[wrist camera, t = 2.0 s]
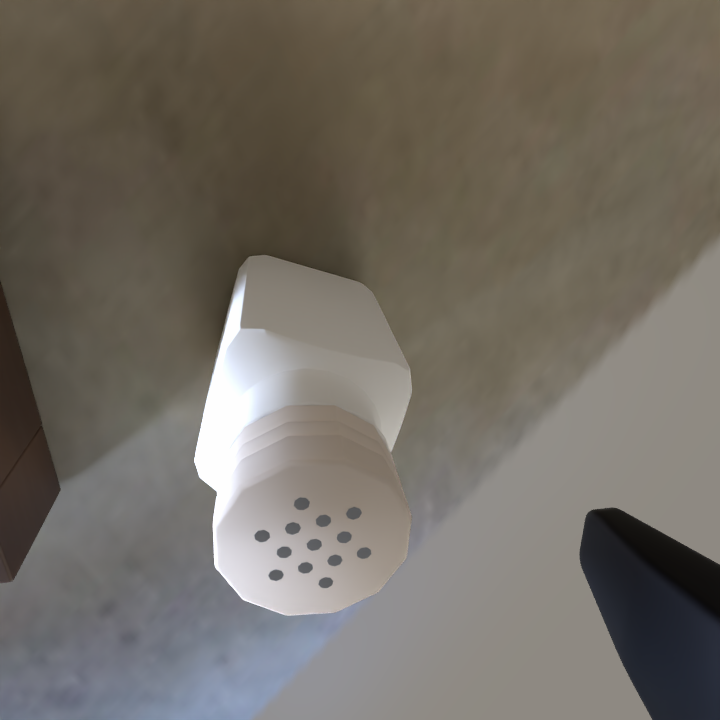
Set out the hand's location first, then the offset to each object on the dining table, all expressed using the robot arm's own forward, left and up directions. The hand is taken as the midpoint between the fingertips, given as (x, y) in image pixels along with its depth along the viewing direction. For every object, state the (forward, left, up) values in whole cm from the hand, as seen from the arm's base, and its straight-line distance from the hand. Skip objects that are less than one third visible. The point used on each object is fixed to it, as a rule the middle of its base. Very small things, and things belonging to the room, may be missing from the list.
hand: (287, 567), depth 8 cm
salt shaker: (0, 0, -10) cm, 11 cm away
